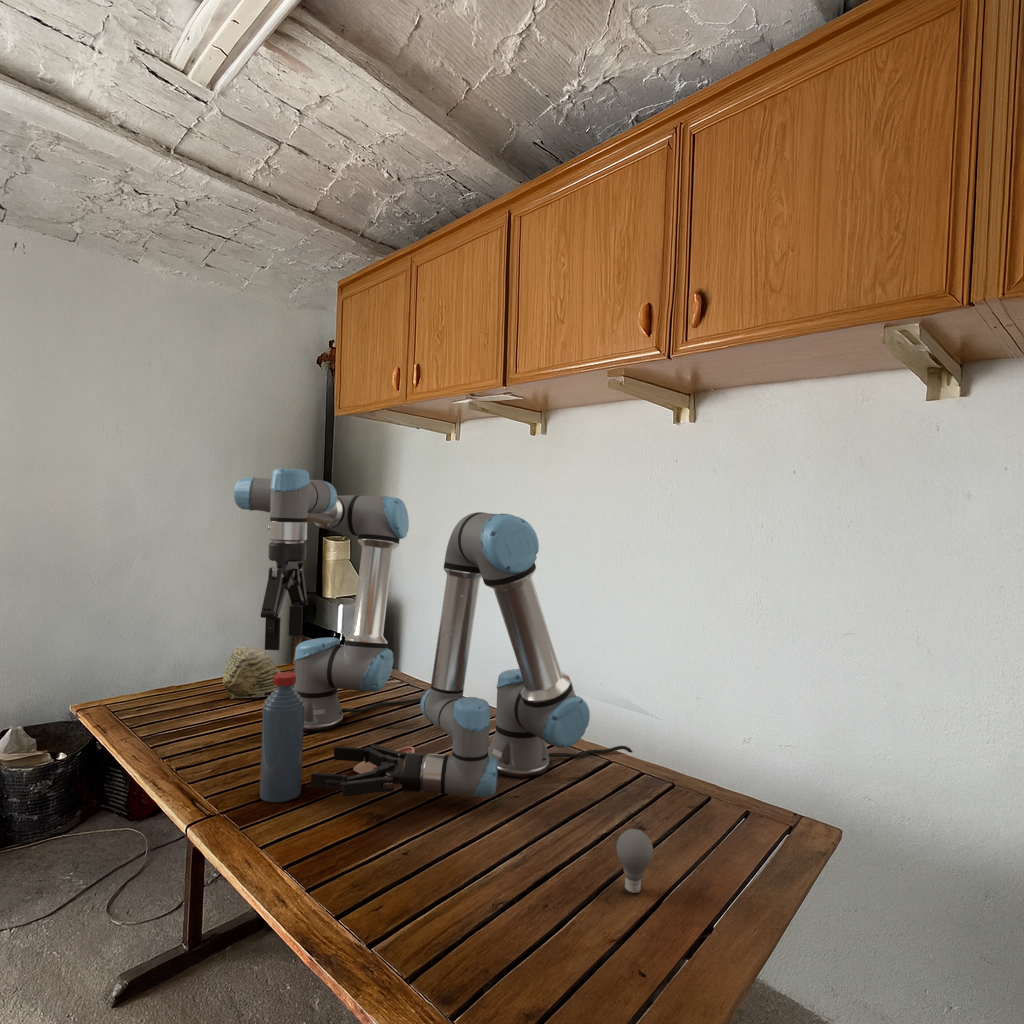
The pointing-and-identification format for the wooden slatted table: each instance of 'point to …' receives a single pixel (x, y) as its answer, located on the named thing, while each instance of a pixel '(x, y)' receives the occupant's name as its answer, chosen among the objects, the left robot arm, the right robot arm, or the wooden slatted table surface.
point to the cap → (284, 679)
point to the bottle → (282, 745)
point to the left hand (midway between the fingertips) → (284, 642)
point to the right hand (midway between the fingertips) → (323, 765)
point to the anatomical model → (369, 766)
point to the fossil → (249, 673)
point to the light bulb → (634, 857)
